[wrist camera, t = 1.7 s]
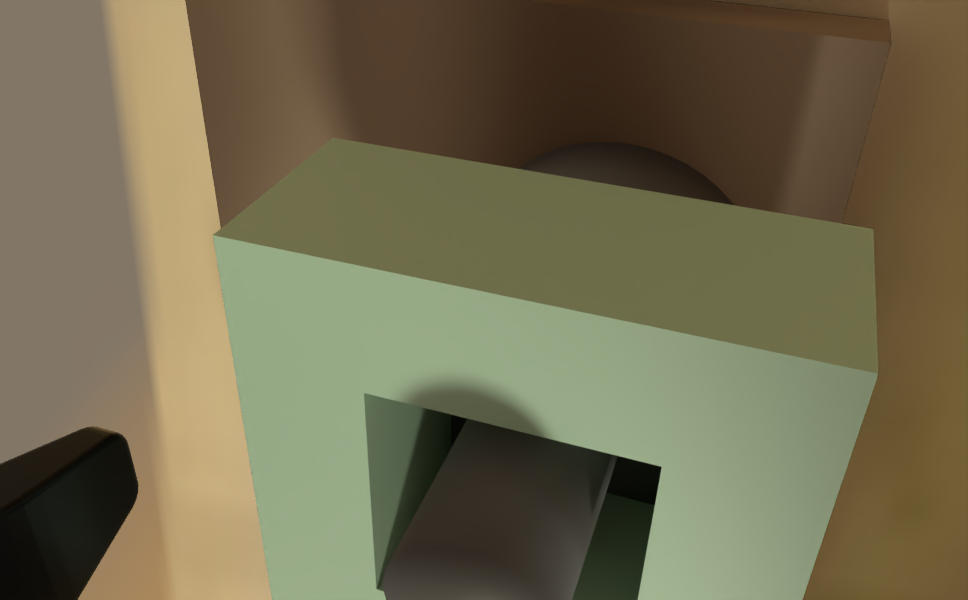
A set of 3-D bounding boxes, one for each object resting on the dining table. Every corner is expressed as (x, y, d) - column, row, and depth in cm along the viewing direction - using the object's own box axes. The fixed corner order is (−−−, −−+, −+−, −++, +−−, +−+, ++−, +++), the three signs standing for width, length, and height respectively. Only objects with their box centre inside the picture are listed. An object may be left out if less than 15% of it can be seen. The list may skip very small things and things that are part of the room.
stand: (889, 20, 12) (923, 341, 6) (684, 776, 22) (619, 1180, 16) (216, -55, 14) (-240, 112, 8) (310, 651, 24) (132, 956, 18)
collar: (873, 229, 9) (877, 372, 7) (758, 613, 12) (739, 784, 10) (333, 138, 11) (212, 234, 9) (360, 501, 14) (277, 632, 12)
